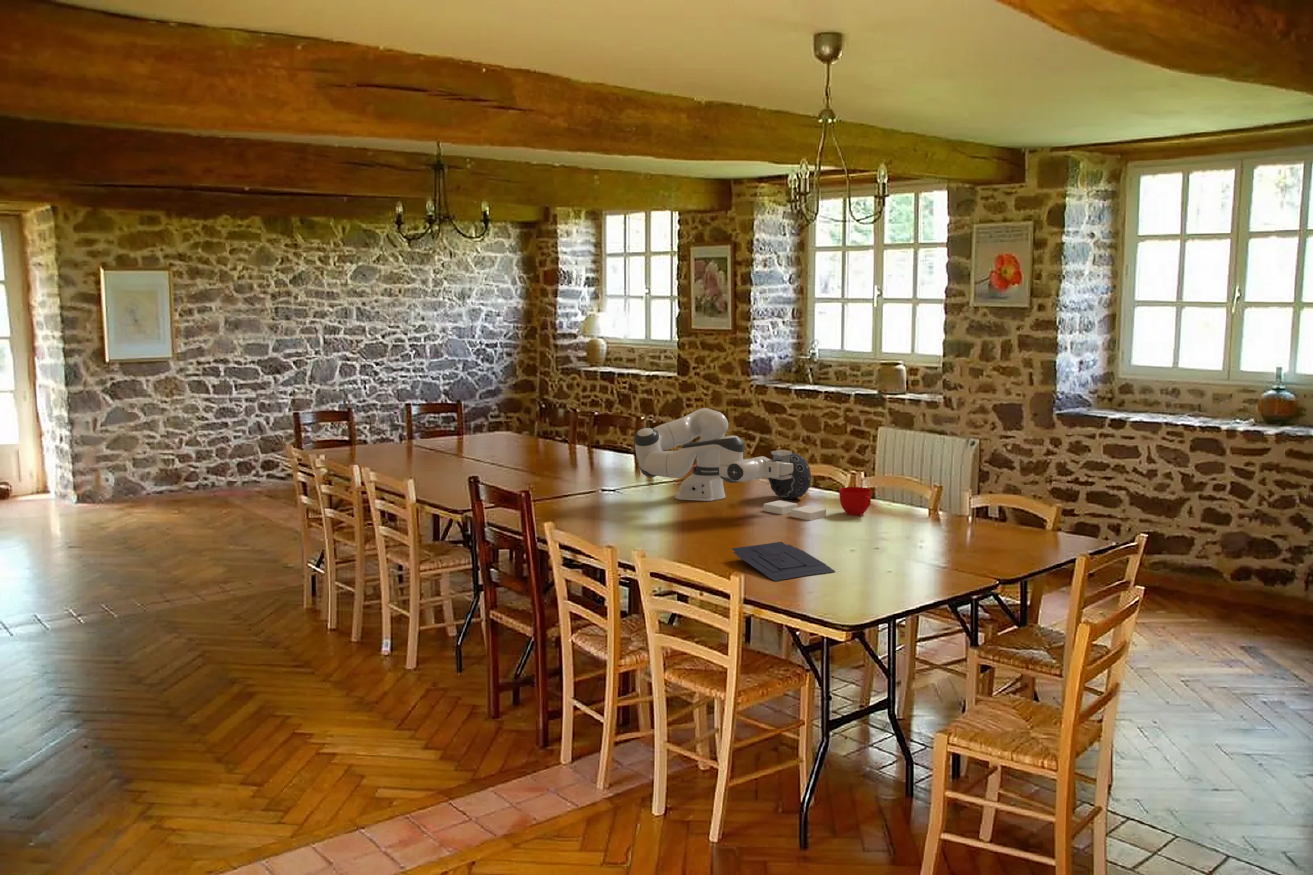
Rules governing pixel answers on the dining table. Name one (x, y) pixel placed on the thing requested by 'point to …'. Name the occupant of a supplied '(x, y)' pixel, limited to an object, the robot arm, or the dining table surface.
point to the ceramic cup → (855, 500)
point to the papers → (781, 561)
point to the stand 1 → (780, 507)
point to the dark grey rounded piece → (793, 480)
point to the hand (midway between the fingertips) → (782, 463)
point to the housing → (782, 460)
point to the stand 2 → (808, 513)
